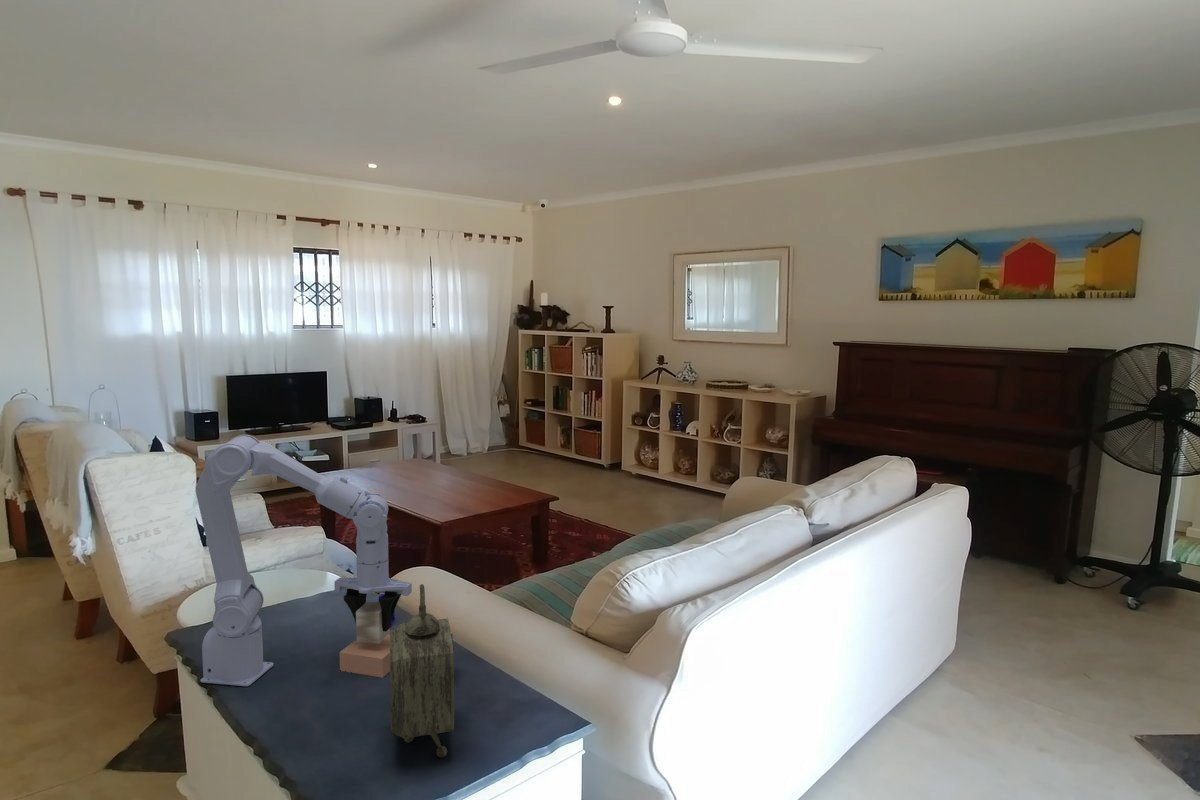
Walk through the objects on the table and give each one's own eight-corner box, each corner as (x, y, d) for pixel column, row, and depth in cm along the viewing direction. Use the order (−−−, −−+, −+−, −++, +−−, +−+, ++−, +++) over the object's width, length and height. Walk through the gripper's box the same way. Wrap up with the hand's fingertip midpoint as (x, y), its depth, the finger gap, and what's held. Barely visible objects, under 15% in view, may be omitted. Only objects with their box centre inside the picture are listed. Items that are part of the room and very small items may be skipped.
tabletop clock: (454, 763, 103) (453, 603, 100) (391, 773, 100) (388, 609, 97) (447, 710, 116) (446, 568, 114) (391, 718, 114) (389, 573, 111)
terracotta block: (340, 672, 129) (339, 652, 128) (367, 650, 138) (367, 631, 137) (382, 679, 127) (382, 658, 126) (408, 656, 135) (407, 637, 135)
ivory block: (356, 641, 129) (355, 611, 128) (367, 630, 134) (366, 601, 133) (379, 643, 129) (378, 613, 128) (389, 632, 133) (389, 603, 132)
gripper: (325, 564, 127) (327, 634, 128) (400, 569, 125) (401, 640, 127) (344, 551, 134) (345, 618, 135) (415, 556, 132) (416, 623, 133)
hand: (374, 628), depth 131 cm, fingers closed on ivory block, 4 cm apart
